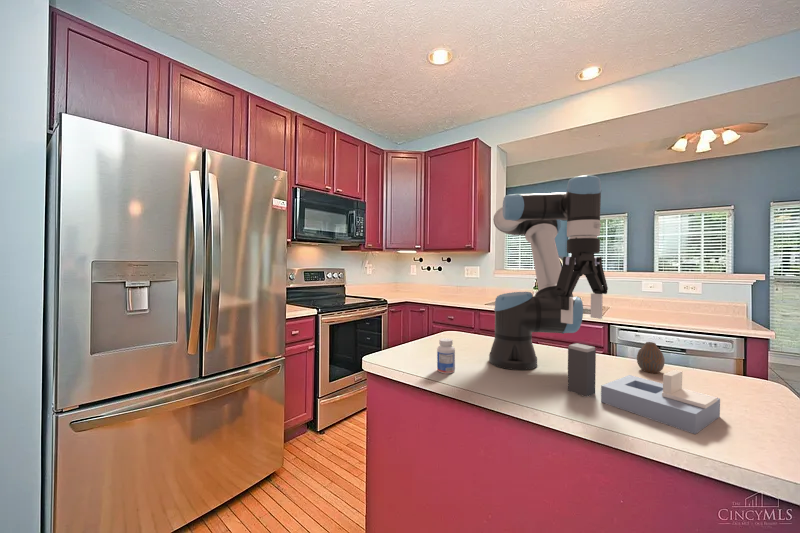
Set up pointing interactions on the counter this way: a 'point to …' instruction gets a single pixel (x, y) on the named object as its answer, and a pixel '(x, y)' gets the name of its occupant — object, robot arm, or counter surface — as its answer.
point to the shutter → (684, 391)
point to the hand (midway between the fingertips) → (582, 320)
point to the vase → (650, 358)
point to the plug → (581, 369)
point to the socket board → (657, 404)
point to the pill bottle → (446, 356)
